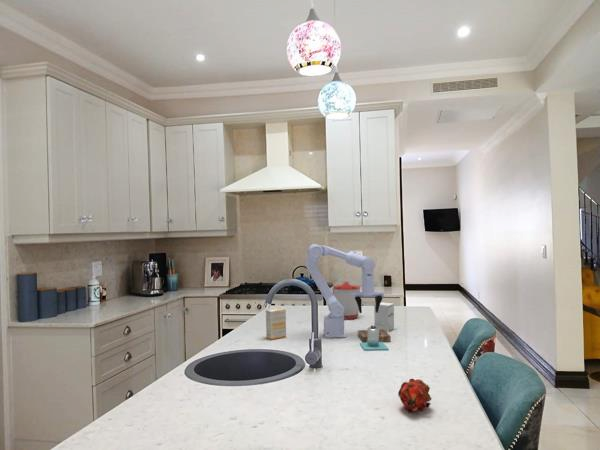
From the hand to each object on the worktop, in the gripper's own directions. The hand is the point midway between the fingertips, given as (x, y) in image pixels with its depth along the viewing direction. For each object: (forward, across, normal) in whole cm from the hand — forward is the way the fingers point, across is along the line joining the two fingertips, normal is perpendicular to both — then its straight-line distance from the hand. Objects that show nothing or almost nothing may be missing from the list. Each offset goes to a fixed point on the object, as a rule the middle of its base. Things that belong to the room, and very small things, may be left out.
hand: (368, 312), depth 200 cm
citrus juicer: (+11, -5, +39) cm, 41 cm away
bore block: (+10, +1, -7) cm, 13 cm away
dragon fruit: (+11, -4, -81) cm, 82 cm away
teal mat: (+10, -2, -20) cm, 23 cm away
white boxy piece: (+11, +10, +10) cm, 18 cm away
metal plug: (+10, -2, -20) cm, 22 cm away
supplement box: (+10, -43, -1) cm, 44 cm away
